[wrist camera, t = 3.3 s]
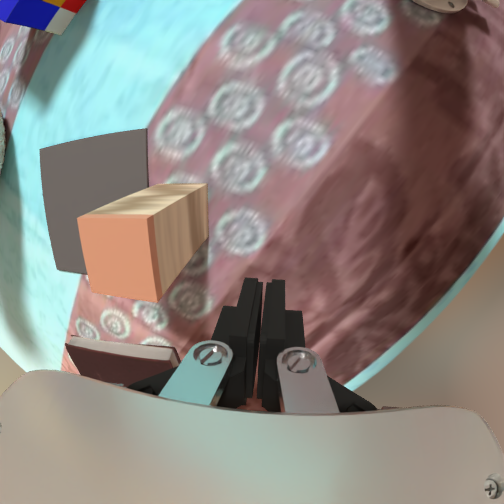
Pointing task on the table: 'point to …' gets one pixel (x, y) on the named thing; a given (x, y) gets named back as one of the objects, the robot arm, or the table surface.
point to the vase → (2, 141)
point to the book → (120, 360)
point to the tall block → (144, 239)
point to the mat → (88, 185)
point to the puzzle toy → (40, 13)
